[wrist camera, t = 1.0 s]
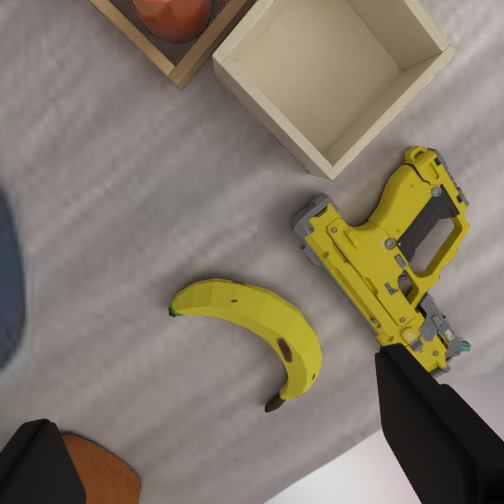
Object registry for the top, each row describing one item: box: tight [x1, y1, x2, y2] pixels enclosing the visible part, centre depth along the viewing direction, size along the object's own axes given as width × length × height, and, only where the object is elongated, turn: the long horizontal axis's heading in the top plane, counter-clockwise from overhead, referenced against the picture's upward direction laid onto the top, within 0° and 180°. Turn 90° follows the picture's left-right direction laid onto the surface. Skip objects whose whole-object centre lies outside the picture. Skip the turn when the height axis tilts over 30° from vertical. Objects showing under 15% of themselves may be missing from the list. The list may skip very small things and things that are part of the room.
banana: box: [168, 278, 323, 413], centre depth 37 cm, size 5×17×15 cm
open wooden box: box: [212, 0, 457, 181], centre depth 28 cm, size 13×13×7 cm
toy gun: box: [291, 146, 471, 379], centre depth 35 cm, size 3×25×15 cm
